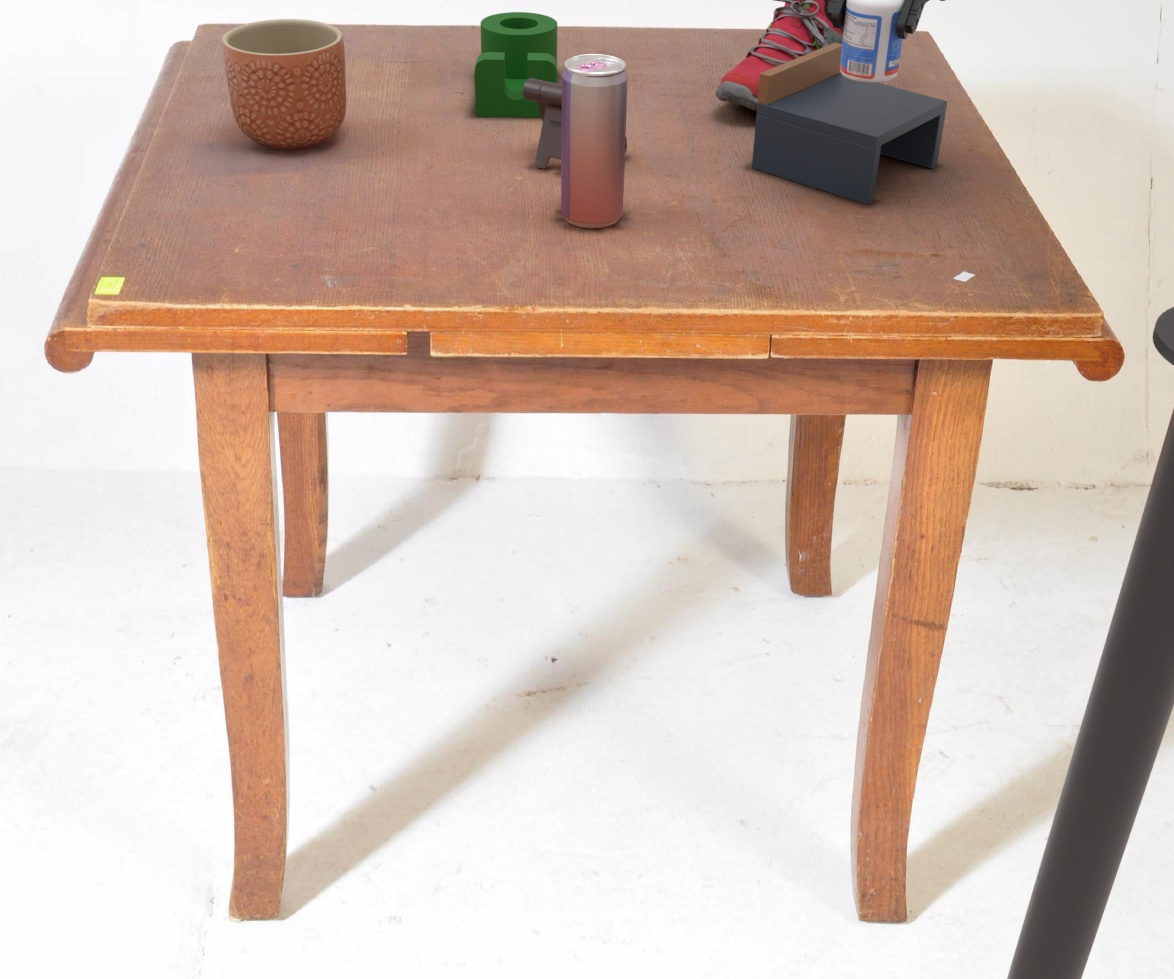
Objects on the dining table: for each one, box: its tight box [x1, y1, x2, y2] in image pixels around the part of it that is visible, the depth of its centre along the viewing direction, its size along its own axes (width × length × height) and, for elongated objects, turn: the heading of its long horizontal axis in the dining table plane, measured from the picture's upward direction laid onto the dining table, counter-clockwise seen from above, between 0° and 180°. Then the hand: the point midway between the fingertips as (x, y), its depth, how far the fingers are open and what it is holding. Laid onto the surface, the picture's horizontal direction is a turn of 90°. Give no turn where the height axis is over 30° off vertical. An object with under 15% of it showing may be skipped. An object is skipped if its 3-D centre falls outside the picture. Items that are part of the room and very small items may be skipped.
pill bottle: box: [840, 0, 905, 83], centre depth 131 cm, size 6×5×10 cm
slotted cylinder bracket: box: [474, 11, 558, 118], centre depth 166 cm, size 18×9×6 cm, turn 1°
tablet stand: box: [523, 78, 628, 170], centre depth 148 cm, size 9×8×8 cm
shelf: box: [751, 43, 948, 205], centre depth 147 cm, size 14×14×10 cm
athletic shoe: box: [715, 0, 844, 112], centre depth 164 cm, size 12×25×12 cm, turn 128°
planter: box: [221, 18, 347, 151], centre depth 151 cm, size 12×12×11 cm
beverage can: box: [560, 53, 629, 230], centre depth 134 cm, size 6×6×15 cm
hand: (868, 28), depth 129 cm, fingers closed on pill bottle, 5 cm apart
